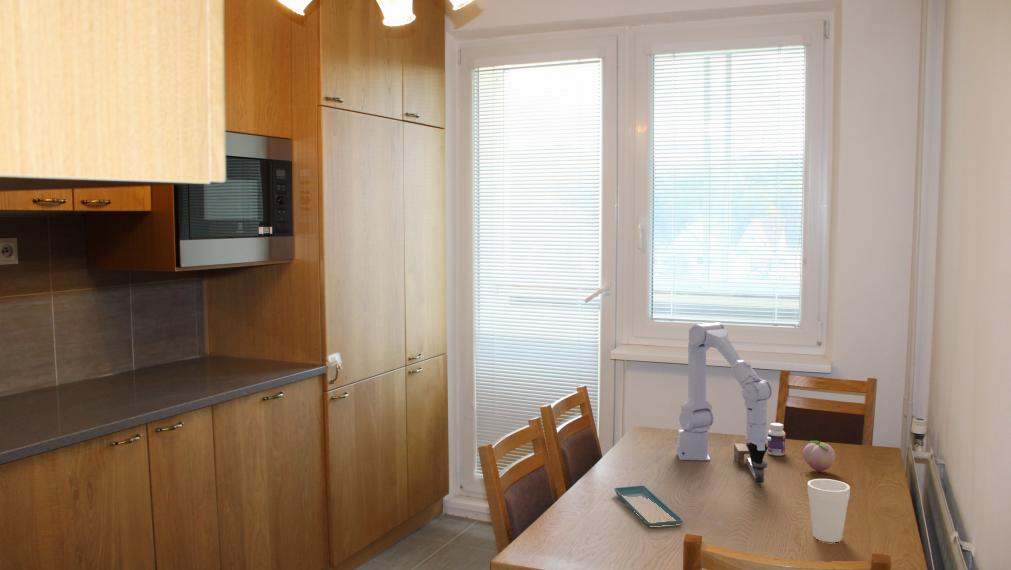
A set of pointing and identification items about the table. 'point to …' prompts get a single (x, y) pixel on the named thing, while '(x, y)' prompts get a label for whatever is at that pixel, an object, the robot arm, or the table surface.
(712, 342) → the robot arm
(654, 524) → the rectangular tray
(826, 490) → the foam cup
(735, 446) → the wooden mallet head
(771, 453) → the pill bottle
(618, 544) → the table surface
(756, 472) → the handle rod
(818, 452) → the decorative fruit
